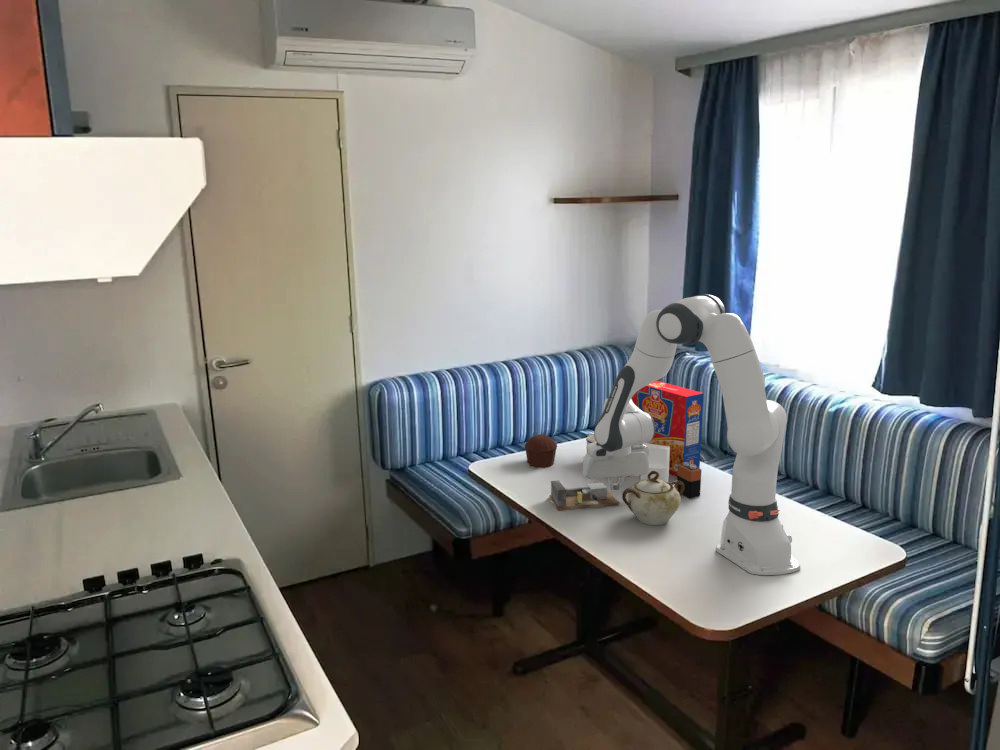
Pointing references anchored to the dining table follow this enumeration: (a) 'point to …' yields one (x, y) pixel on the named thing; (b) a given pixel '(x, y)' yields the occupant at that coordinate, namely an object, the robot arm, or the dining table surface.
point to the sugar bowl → (653, 499)
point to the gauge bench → (568, 498)
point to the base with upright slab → (658, 461)
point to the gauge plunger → (595, 491)
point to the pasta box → (674, 420)
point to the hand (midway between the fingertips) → (615, 489)
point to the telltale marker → (579, 497)
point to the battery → (689, 479)
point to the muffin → (540, 451)
